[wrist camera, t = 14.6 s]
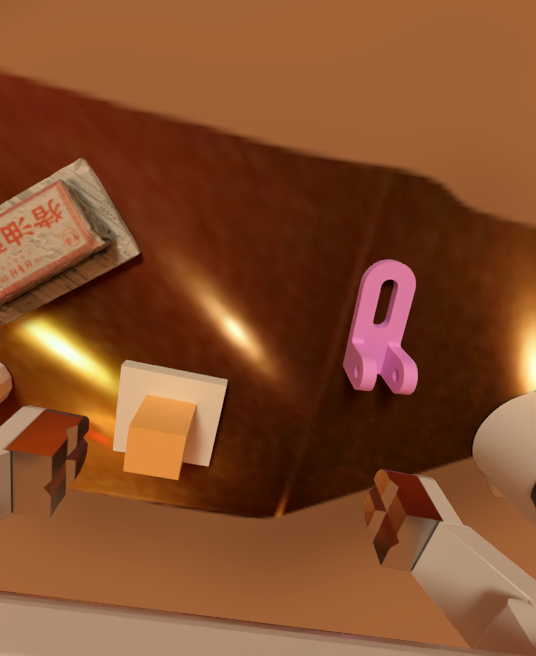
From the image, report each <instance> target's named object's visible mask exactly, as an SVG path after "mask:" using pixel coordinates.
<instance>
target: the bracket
mask: <svg viewBox="0 0 536 656" xmlns="http://www.w3.org/2000/svg"><path fill="white" fill-rule="evenodd" d="M389 279H392V280H393V282H394V287H393V291H392V295H391V299H390V303H389V307H388V311H387V315H386V319H385V321H384V322H383V323H381V324H379V325H375V324H373V319H374V314H375V310H376V306H377V302H378V298H379V293H380V289H381V286H382V284H383V283H384V282H385V281H386V280H389ZM415 287H416V281H415V276H414V274H413V272H412V271H411V269H410V268H409V267H407V266H406V265H404V264H402V263H400V262H398V261H395V260H382V261H379V262H377V263H375V264H373V265H372V266H370V267H369V268H368V269H367V271H366V272H365V273H364V275H363V277H362V279H361V283H360V288H359V293H358V297H357V302H356V307H355V311H354V316H353V321H352V325H351V330H350V335H349V339H348V344H347V349H346V353H345V358H344V363H343V367H344V369H345V371H346V373H347V375H348V378H349V380H350V382H351V384H352V386H353V388H354V389H355V390H364V391H371V390H372V389H373V387H374V385H375V382H376V377H377V374H380V375H381V376H382V377H383V379H384V380H385V382H386V383H387V385H388V386H389V388H390V389H391V391H392V392H393V393H397V394H408V395H409V394H411V393H413V391H414V390H415V388H416V385H417V378H418V373H417V367H416V364H415V362H414V361H413V360H412V359H411V358H410V357H409V356H408V355H407V354H406V352H405V351H404V350H403V349H402V348H401V340H402V336H403V332H404V329H405V325H406V321H407V318H408V314H409V310H410V307H411V303H412V299H413V296H414V292H415Z"/></svg>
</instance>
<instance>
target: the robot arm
mask: <svg viewBox="0 0 536 656" xmlns="http://www.w3.org/2000/svg"><path fill="white" fill-rule="evenodd" d="M88 430H89V419H88V418H87V417H86V416H81V415H76V414H71V413H66V412H61V411H56V410H51V409H45V408H40V407H35V406H30V405H28V406H24V407H22V408H21V409H20V410H18V411H17V412H16V413H15V414H14V415H13V416H12V417H11V418H9V419H8V420H7V421H6V422H5V423H4V424H3V425H1V426H0V522H2V521H4V520H5V519H7V518H8V517H10V516H11V513H14V514H22V515H31V516H40V517H49V518H50V517H51V516H52V514H53V513H54V511H55V509H56V508H57V507H58V505H59V503H60V502H61V501H62V499H63V498H64V496H65V490H66V485H67V484H69V483H71V482H73V481H75V479H76V477H77V476H78V474H79V473H80V471H81V468H82V466H83V463H84V461H85V457H86V453H87V445H88V444H87V442H86V441H85V439H84V438H83V437H84V436H85V434H86V433H87V431H88ZM473 458H474V461H475V463H476V465H477V467H478V468H479V470H480V471H481V472H482V473H483V474H484V475H485V476H486V478H487V483H488V488H489V490H490V491H491V493H493V495H494V496H495V497H497V498H505V499H506V500H507V501H508V502H509V503H510V504H511V505H512V506H513V507H514V508H515V509H516V510H517V511H518V512H519V513H520V515H522V517H523V518H524V519H525V520H526V521H527V522H528V523H529V524H530V525H531V526H532V527H533V528H534V529H535V530H536V391H534V392H531V393H528V394H525V395H522V396H519V397H516V398H514V399H512V400H510V401H508V402H506V403H505V404H503V405H501V406H500V407H499V408H497V409H496V410H495V411H493V412H492V413H491V414H490V415H489V416H488V417H487V418H486V420H485V421H484V422H483V423H482V425H481V426H480V428H479V430H478V431H477V433H476V436H475V439H474V442H473ZM374 481H375V484H376V487H375V488H373V489H372V490H370V491H369V492H368V495H367V497H366V500H365V508H364V512H365V520H366V523H367V526H368V528H369V529H370V530H371V531H372V532H373V533H374V534H375V535H376V536H375V538H374V541H373V544H374V547H375V550H376V553H377V556H378V559H379V562H380V565H381V566H383V567H388V568H394V569H400V570H405V571H411V572H412V573H411V574H412V575H413V576H414V577H415V579H416V580H417V581H418V582H419V584H420V585H421V586H422V587H423V589H424V590H425V591H426V592H427V594H428V595H429V596H430V597H431V599H432V600H433V601H434V602H435V604H436V605H437V606H438V607H439V609H440V610H441V611H442V612H443V614H444V615H445V616H446V617H447V619H448V620H449V621H450V622H451V624H452V625H453V626H454V627H455V629H456V630H457V631H458V632H459V634H460V635H461V636H462V637H463V639H464V640H465V641H466V642H467V643H468V645H469V646H470V647H471V648H462V647H455V646H446V645H438V644H431V643H422V642H414V641H406V640H398V639H389V638H382V637H373V636H365V635H357V634H348V633H341V632H332V631H324V630H316V629H307V628H299V627H291V626H283V625H275V624H267V623H259V622H251V621H243V620H235V619H227V618H219V617H211V616H203V615H195V614H186V613H178V612H170V611H162V610H154V609H146V608H138V607H129V606H122V605H113V604H104V603H97V602H89V601H80V600H73V599H64V598H57V597H48V596H41V595H32V594H24V593H16V592H8V591H0V656H536V580H535V579H533V578H532V577H531V576H530V575H528V574H527V573H526V572H525V571H523V570H522V569H521V568H520V567H518V566H517V565H516V564H515V563H514V562H512V561H511V560H510V559H509V558H507V557H506V556H505V555H504V554H502V553H501V552H500V551H498V550H497V549H496V548H495V547H494V546H492V545H491V544H490V543H489V542H487V541H486V540H485V539H484V538H482V537H481V536H480V535H479V534H478V533H476V532H475V531H474V530H473V529H471V528H470V527H469V526H464V525H463V524H462V523H461V521H460V520H459V518H458V516H457V514H456V513H455V511H454V510H453V508H452V507H451V505H450V503H449V502H448V500H447V499H446V497H445V495H444V494H443V492H442V491H441V489H440V488H439V486H438V484H437V483H436V481H435V480H434V479H433V478H431V477H428V476H422V475H415V474H414V475H412V474H406V473H400V472H394V471H389V470H383V469H380V470H379V471H378V472H377V474H376V476H375V478H374Z"/></svg>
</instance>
